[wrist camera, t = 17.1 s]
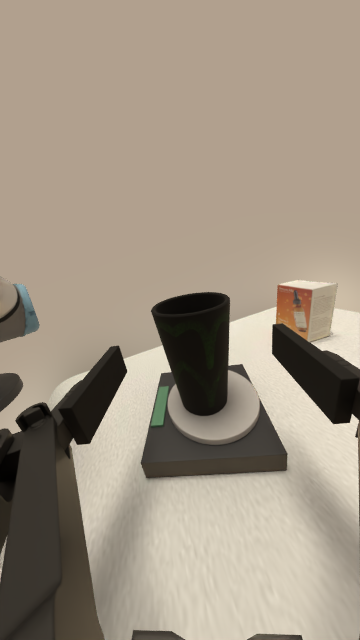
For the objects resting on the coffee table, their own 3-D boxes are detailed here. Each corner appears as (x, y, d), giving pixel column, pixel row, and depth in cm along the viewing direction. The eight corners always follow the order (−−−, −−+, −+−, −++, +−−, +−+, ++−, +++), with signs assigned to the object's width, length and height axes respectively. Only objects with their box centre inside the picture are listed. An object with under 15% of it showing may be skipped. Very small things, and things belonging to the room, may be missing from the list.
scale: (146, 477, 17) (138, 457, 16) (163, 384, 29) (160, 369, 28) (286, 470, 15) (288, 447, 14) (242, 375, 27) (242, 359, 26)
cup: (188, 371, 26) (174, 294, 22) (241, 381, 22) (236, 290, 18) (161, 413, 20) (134, 315, 16) (228, 435, 16) (216, 315, 12)
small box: (275, 329, 40) (276, 284, 36) (295, 323, 41) (298, 279, 37) (307, 343, 33) (312, 289, 29) (330, 336, 33) (338, 282, 30)
